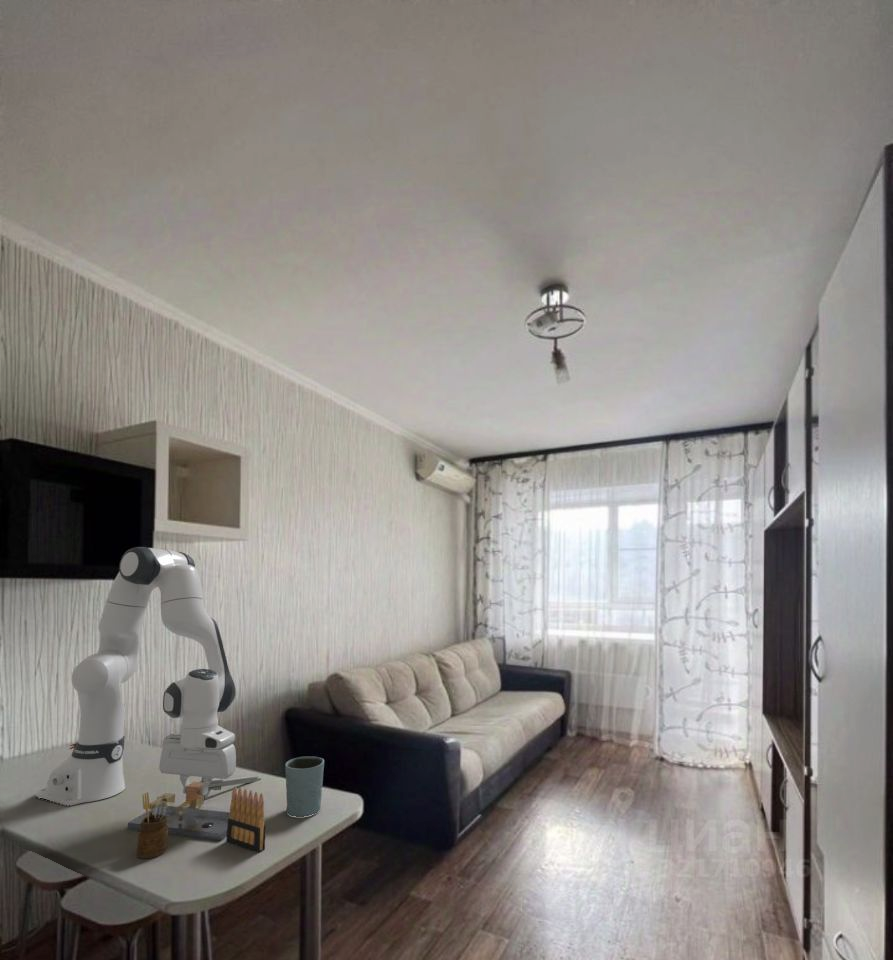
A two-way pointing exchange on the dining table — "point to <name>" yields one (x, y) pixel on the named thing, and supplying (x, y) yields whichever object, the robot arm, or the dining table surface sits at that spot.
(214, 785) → the caliper
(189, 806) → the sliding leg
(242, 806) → the ammunition clip
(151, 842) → the utensil holder
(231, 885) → the dining table surface
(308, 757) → the grey-teal cup
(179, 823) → the bolt plate
